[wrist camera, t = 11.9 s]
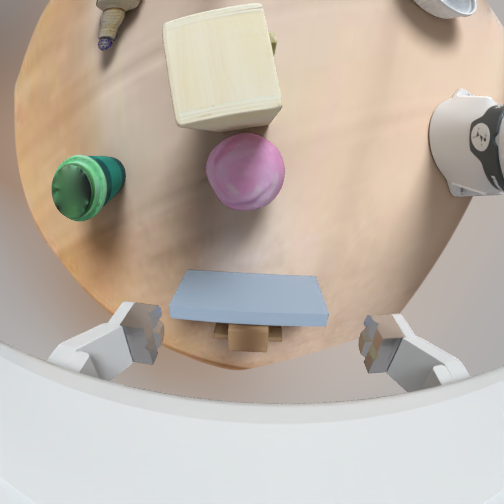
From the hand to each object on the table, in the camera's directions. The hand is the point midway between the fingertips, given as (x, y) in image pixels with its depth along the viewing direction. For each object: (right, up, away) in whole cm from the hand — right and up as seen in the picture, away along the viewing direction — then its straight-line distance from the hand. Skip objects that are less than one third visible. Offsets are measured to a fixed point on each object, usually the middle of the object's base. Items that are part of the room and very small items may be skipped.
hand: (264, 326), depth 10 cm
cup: (-21, +14, +26) cm, 37 cm away
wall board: (-1, -4, +33) cm, 34 cm away
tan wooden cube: (-1, -6, +30) cm, 30 cm away
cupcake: (-1, +14, +26) cm, 30 cm away
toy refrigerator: (-2, +23, +22) cm, 32 cm away
